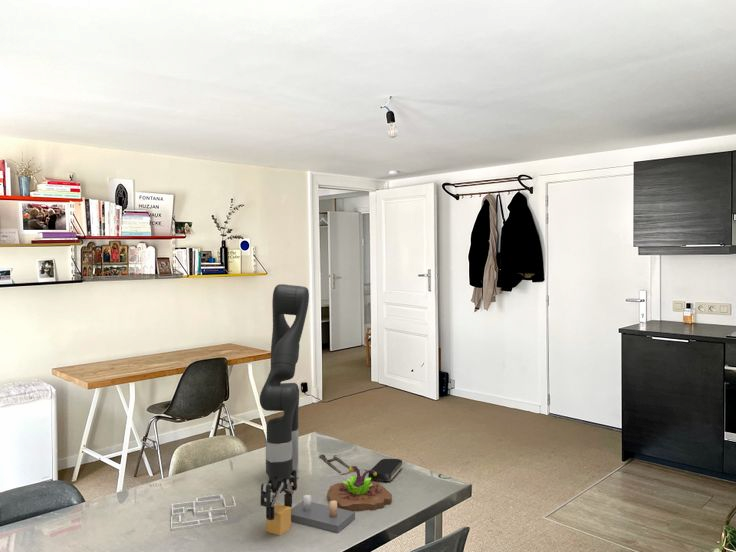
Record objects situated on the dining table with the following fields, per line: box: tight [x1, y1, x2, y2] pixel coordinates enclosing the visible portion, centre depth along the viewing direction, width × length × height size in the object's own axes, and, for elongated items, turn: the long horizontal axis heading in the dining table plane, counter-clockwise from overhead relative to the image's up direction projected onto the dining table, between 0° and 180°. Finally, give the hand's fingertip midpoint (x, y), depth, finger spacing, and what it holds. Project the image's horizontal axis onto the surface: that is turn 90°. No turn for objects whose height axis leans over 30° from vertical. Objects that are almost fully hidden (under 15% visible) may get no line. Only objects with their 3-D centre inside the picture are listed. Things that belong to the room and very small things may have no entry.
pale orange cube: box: [265, 503, 292, 536], centre depth 160 cm, size 5×5×6 cm
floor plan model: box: [170, 493, 237, 532], centre depth 174 cm, size 19×25×2 cm
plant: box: [326, 465, 393, 512], centre depth 181 cm, size 20×20×11 cm
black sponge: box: [367, 458, 403, 482], centre depth 202 cm, size 16×8×4 cm, turn 159°
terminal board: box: [291, 494, 356, 534], centre depth 167 cm, size 18×10×6 cm, turn 63°
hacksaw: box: [319, 454, 368, 476], centre depth 212 cm, size 24×10×2 cm, turn 28°
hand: (279, 513), depth 160 cm, fingers open, 8 cm apart
